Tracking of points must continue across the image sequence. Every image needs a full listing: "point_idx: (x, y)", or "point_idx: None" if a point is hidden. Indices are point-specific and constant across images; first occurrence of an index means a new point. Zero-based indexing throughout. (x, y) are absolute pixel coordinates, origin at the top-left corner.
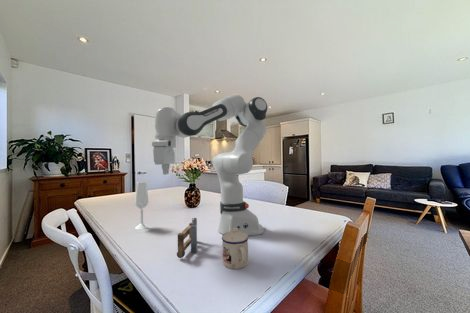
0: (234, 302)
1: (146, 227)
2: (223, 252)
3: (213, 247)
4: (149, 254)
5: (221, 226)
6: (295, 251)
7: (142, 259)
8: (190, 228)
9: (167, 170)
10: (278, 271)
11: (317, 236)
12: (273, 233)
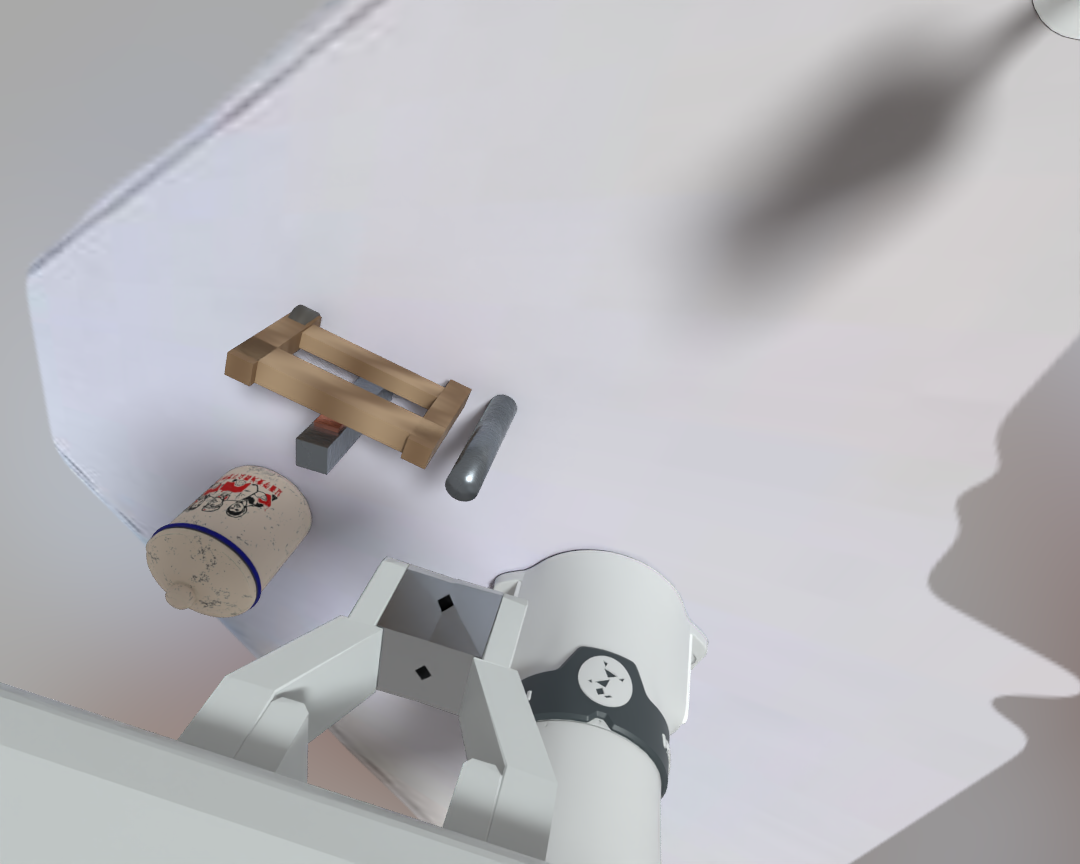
0: (69, 430)
1: (1046, 19)
2: (218, 492)
3: (409, 472)
4: (393, 141)
5: (572, 583)
6: None
7: (336, 104)
8: (362, 430)
9: (387, 691)
10: None
11: (422, 788)
12: None
